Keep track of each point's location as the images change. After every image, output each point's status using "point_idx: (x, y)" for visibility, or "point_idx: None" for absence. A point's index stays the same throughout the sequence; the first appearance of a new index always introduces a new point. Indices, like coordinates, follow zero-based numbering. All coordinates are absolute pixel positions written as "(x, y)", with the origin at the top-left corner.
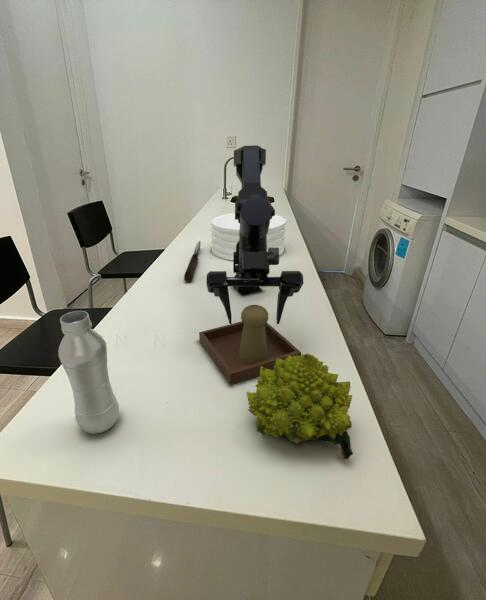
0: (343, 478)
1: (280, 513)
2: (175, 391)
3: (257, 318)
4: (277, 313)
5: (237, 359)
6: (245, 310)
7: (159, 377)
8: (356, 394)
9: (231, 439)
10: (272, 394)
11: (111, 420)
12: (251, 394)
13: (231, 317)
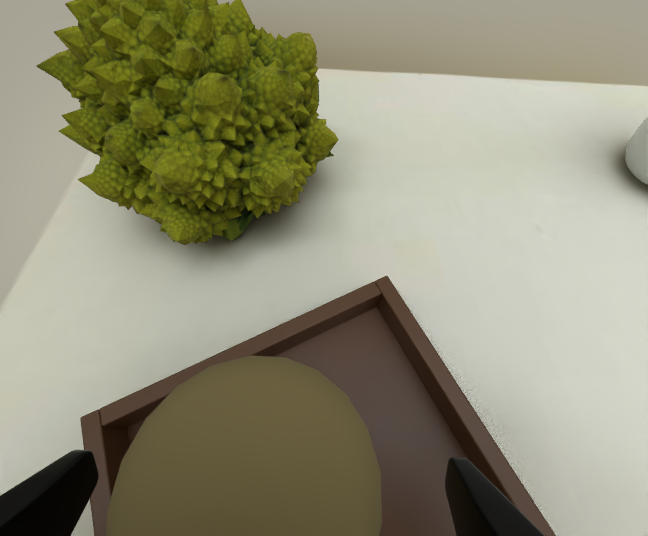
0: None
1: None
2: (536, 266)
3: (242, 357)
4: (18, 525)
5: (363, 420)
6: (344, 472)
7: (620, 324)
8: (32, 267)
9: (365, 151)
10: (274, 41)
11: (638, 129)
12: (325, 130)
13: (465, 497)
